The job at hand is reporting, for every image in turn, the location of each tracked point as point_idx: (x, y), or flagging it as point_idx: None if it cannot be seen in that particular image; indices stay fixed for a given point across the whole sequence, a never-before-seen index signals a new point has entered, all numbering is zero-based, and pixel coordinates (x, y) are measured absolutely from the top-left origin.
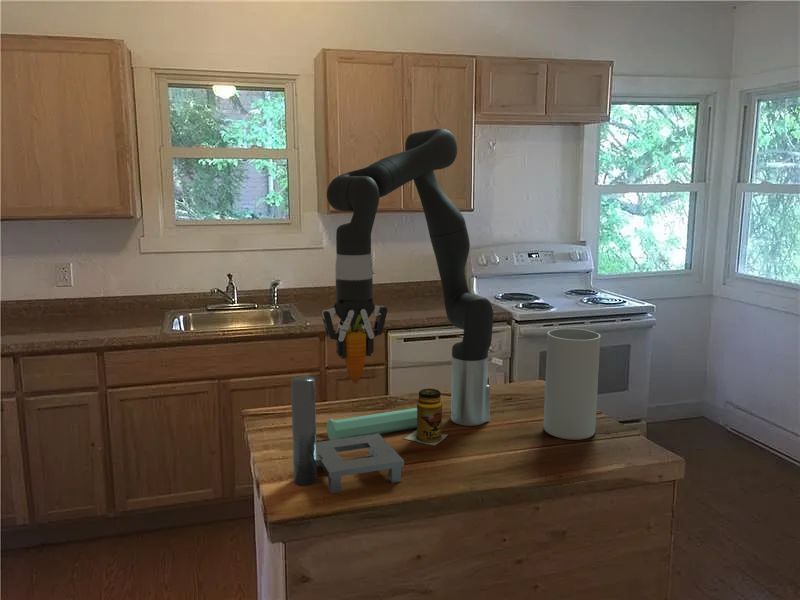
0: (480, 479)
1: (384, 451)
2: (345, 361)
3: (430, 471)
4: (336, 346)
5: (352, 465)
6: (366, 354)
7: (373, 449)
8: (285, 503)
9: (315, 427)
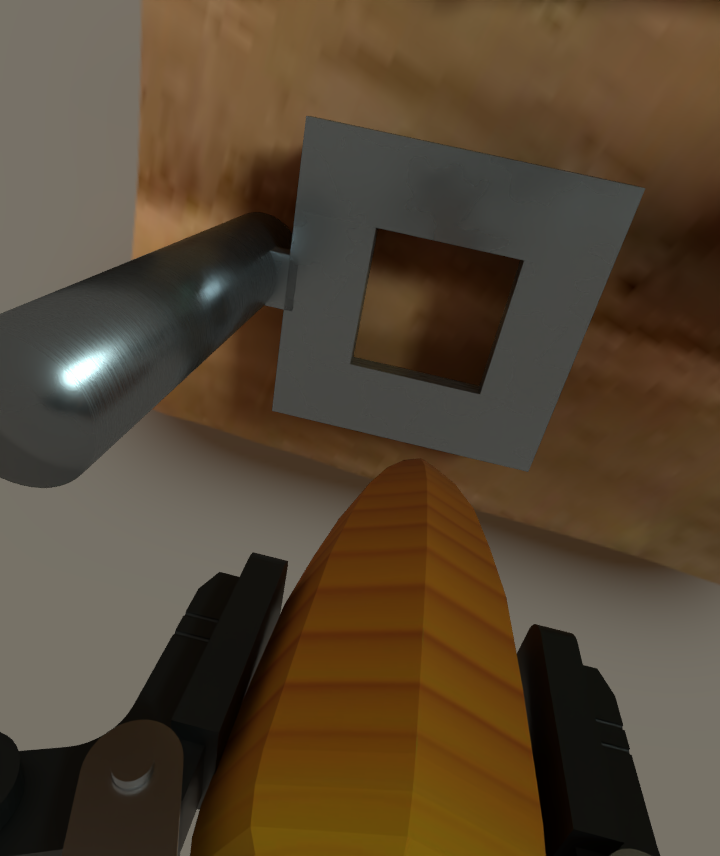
0: (716, 535)
1: (523, 376)
2: (307, 568)
3: (645, 420)
4: (165, 653)
5: (360, 409)
6: (519, 663)
7: (501, 336)
8: None
9: (221, 343)
